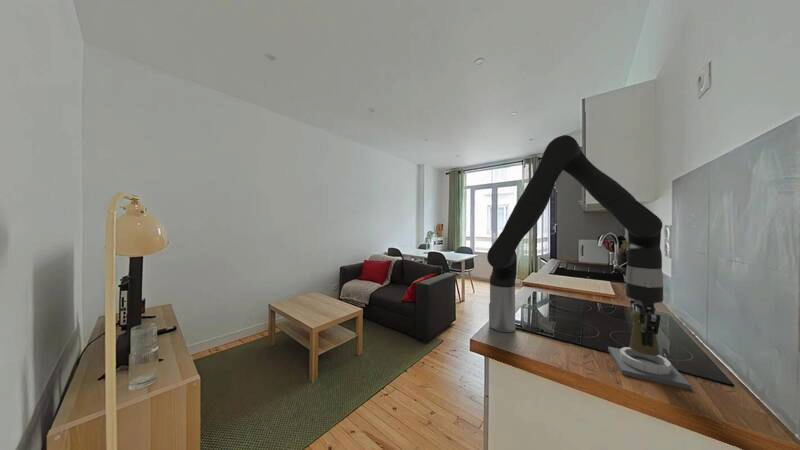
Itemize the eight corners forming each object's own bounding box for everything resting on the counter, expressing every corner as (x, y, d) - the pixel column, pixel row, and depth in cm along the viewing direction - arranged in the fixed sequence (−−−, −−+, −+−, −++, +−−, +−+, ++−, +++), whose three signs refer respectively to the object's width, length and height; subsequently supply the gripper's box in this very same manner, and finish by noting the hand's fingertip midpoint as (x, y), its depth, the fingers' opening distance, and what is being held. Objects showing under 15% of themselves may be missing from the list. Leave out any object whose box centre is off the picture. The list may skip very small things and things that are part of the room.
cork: (665, 356, 65) (666, 316, 65) (639, 354, 66) (639, 314, 66) (647, 345, 71) (647, 308, 71) (624, 343, 72) (624, 307, 72)
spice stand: (621, 374, 66) (621, 362, 66) (608, 350, 78) (608, 340, 78) (691, 390, 59) (691, 377, 59) (664, 361, 72) (664, 350, 72)
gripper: (618, 276, 77) (618, 329, 77) (635, 286, 64) (635, 350, 64) (651, 278, 73) (651, 334, 73) (675, 290, 60) (675, 358, 61)
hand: (643, 341), depth 69 cm, fingers closed on cork, 4 cm apart
